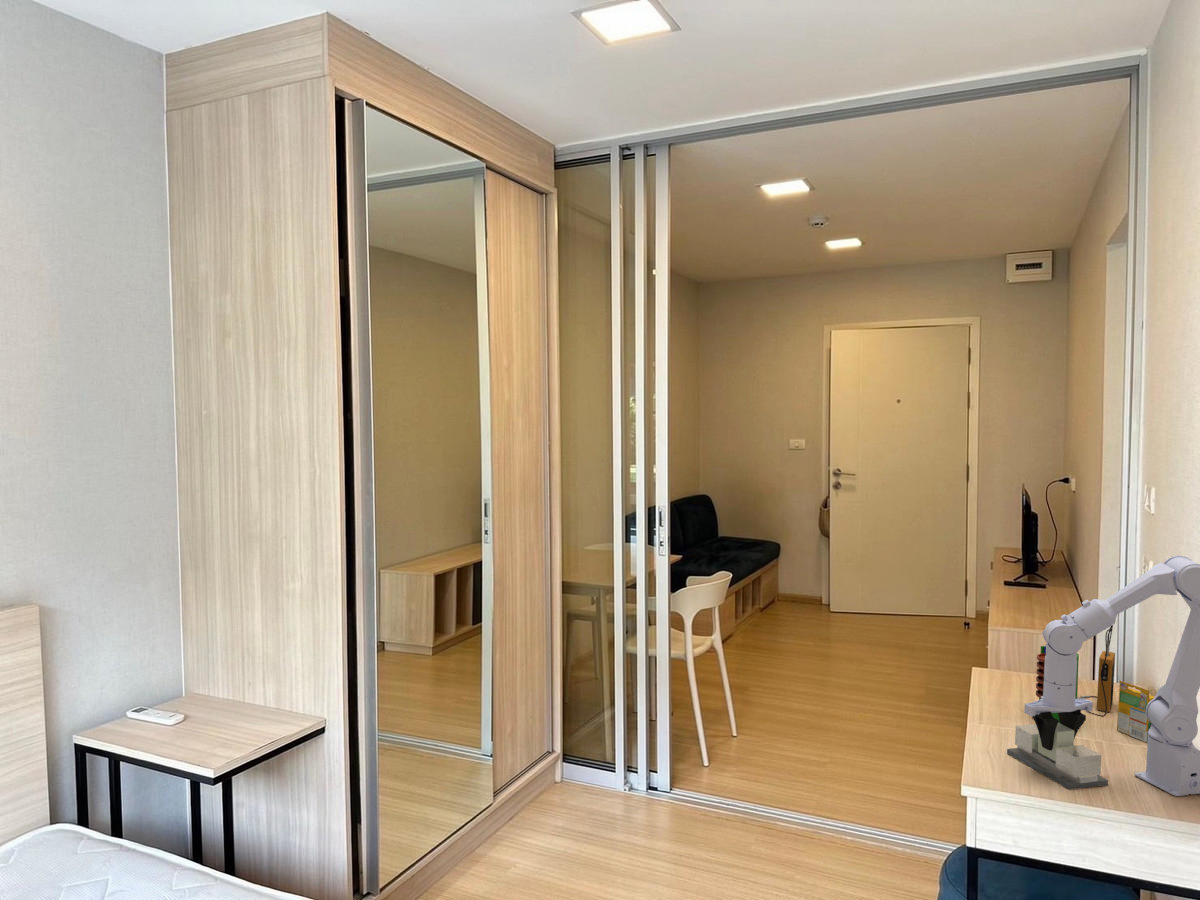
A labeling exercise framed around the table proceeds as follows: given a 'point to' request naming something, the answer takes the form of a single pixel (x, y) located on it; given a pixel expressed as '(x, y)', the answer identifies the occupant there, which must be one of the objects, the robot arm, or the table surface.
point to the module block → (1058, 741)
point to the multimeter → (1105, 678)
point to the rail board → (1052, 771)
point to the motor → (1041, 676)
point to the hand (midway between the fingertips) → (1056, 747)
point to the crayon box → (1133, 711)
